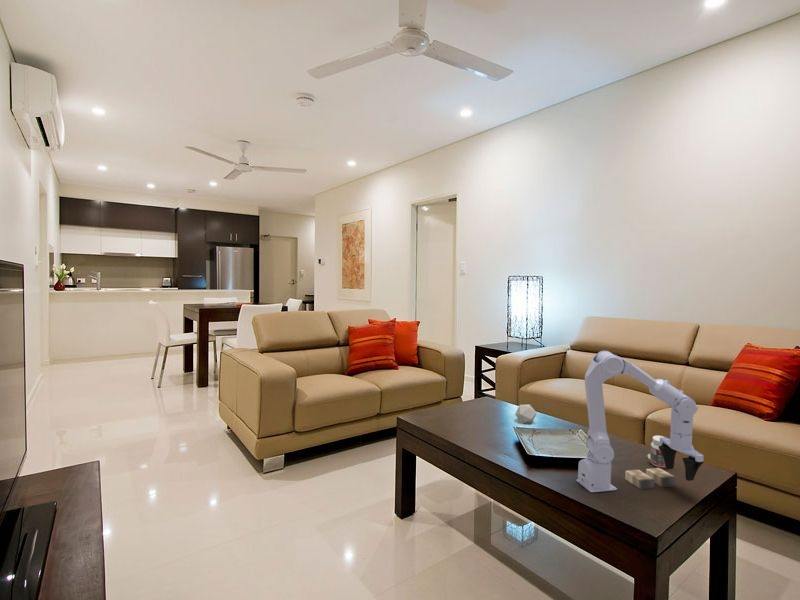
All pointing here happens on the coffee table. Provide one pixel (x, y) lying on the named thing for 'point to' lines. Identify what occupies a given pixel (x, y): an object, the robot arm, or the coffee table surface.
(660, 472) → the beech tile
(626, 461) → the coffee table surface
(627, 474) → the beech tile
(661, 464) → the pill bottle
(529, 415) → the die
